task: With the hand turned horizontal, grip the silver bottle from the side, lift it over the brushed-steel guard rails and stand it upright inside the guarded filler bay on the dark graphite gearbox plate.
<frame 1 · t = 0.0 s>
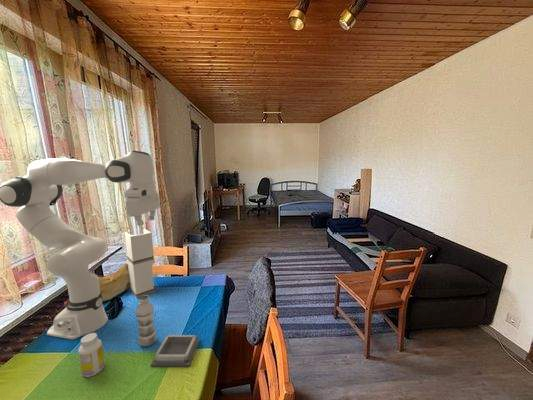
hand: (146, 222, 102), 48 cm above the table, tool pointing down, fingers open, 8 cm apart
gearbox port: (177, 352, 92), on the table
silver bottle: (148, 343, 98), on the table
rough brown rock: (112, 292, 137), on the table
supplement bottle: (93, 370, 85), on the table
beige notched post: (143, 291, 139), on the table
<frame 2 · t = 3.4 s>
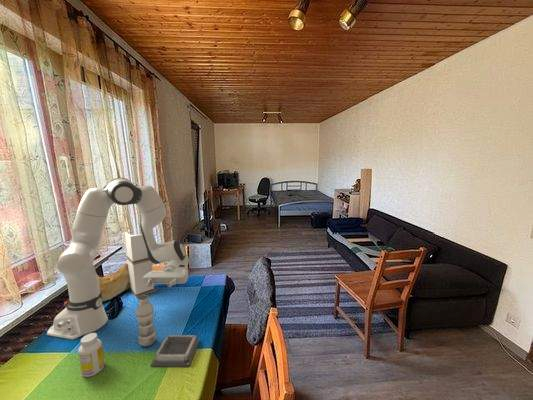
hand: (158, 285, 107), 19 cm above the table, tool horizontal, fingers open, 8 cm apart
nothing on the table moved.
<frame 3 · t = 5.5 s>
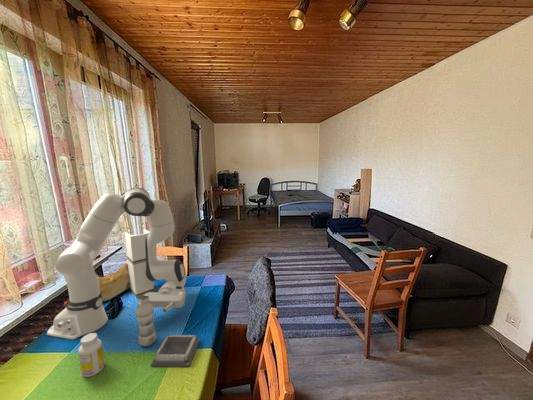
hand: (154, 310, 103), 10 cm above the table, tool horizontal, fingers open, 8 cm apart
nothing on the table moved.
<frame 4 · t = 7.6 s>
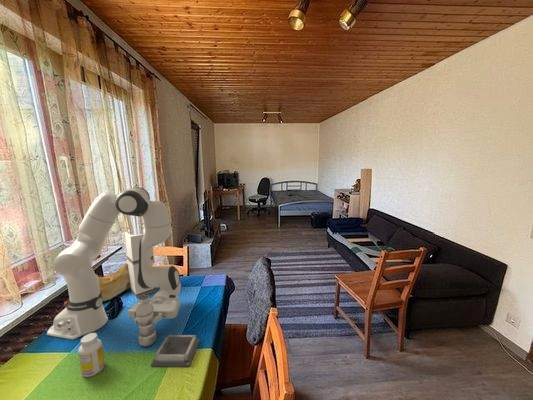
hand: (144, 322, 95), 10 cm above the table, tool horizontal, fingers closed on silver bottle, 5 cm apart
silver bottle: (148, 343, 98), on the table, touching gripper
everything else where it was.
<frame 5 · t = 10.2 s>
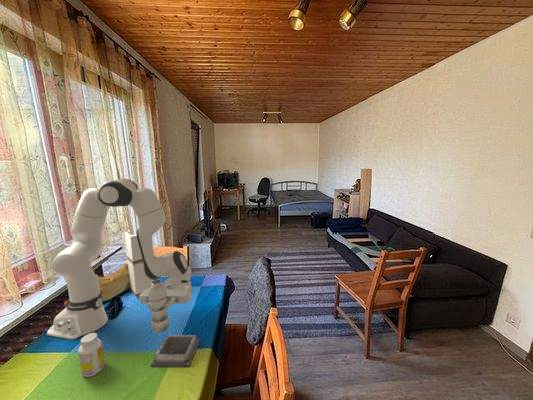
hand: (157, 306, 92), 18 cm above the table, tool horizontal, fingers closed on silver bottle, 5 cm apart
silver bottle: (161, 329, 94), point 8 cm above the table, touching gripper
everything else where it was.
when the fingers open (12 cm above the table, at t = 13.0 s): silver bottle moves 2 cm, resting on gearbox port.
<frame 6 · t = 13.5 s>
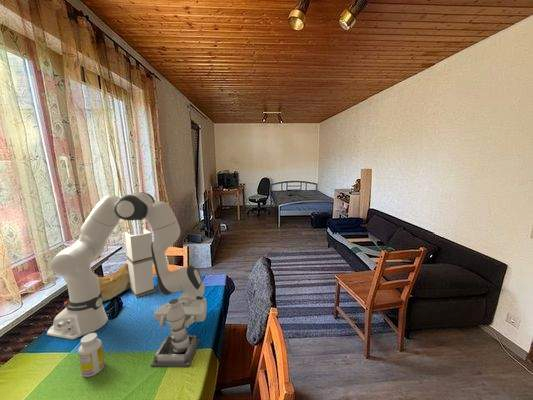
hand: (173, 325, 90), 12 cm above the table, tool horizontal, fingers open, 8 cm apart
silver bottle: (181, 349, 92), point 1 cm above the table, touching gearbox port, gripper
everything else where it was.
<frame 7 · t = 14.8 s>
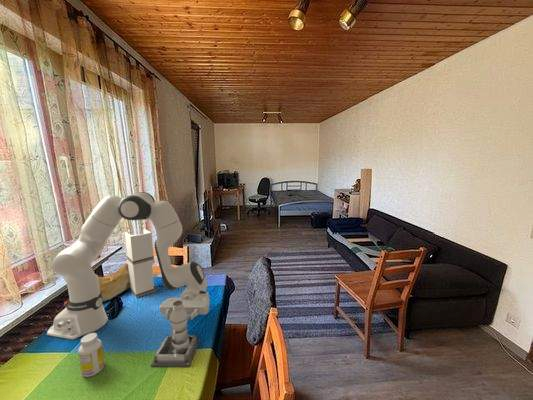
hand: (178, 318, 94), 12 cm above the table, tool horizontal, fingers open, 8 cm apart
silver bottle: (181, 351, 92), point 1 cm above the table, touching gearbox port
everything else where it was.
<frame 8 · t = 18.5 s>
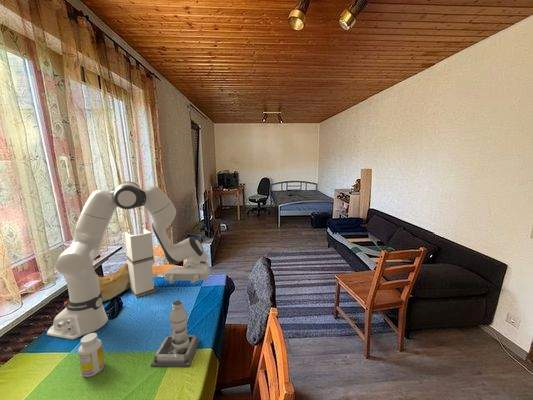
hand: (181, 281, 105), 21 cm above the table, tool horizontal, fingers open, 8 cm apart
nothing on the table moved.
at the end: silver bottle 1.6 cm off-centre on the gearbox port, point 0.6 cm above the gearbox port's base; silver bottle tilted 0°; the gripper is holding nothing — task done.
